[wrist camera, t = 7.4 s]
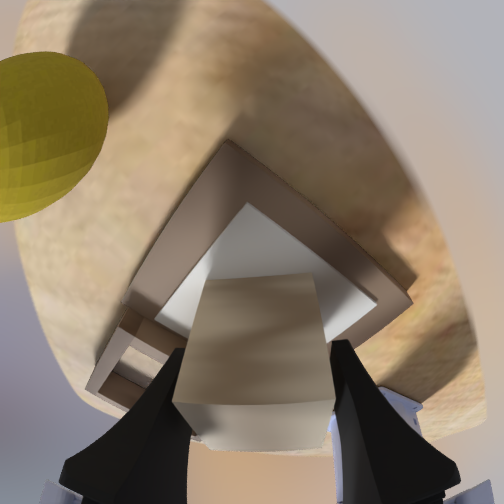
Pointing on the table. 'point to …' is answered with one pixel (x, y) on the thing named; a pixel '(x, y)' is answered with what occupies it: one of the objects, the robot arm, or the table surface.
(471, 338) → the table surface
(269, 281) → the block
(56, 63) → the lemon
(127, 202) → the table surface
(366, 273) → the brown divided tray
